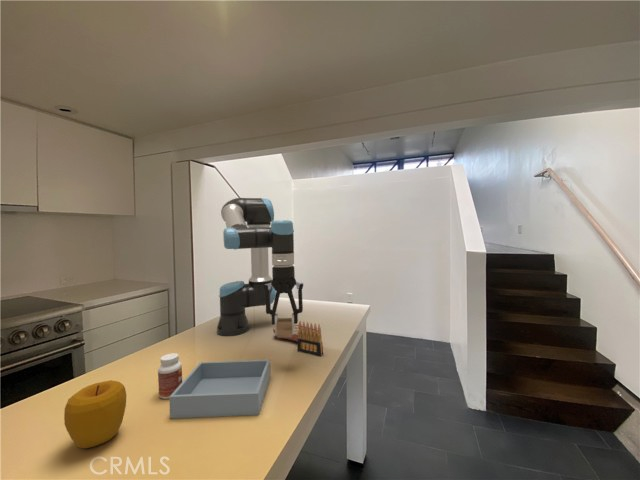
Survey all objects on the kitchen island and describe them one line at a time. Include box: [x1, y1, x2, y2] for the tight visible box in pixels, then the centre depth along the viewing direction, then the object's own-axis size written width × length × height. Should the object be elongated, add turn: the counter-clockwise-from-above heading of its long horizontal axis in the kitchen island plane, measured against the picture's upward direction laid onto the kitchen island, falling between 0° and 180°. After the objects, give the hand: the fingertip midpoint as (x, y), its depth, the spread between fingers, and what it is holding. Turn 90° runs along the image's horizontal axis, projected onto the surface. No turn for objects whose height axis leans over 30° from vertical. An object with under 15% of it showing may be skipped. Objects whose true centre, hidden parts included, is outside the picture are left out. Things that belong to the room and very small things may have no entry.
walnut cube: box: [276, 317, 293, 339], centre depth 92 cm, size 5×5×5 cm
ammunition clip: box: [297, 320, 324, 357], centre depth 105 cm, size 11×2×12 cm, turn 60°
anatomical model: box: [272, 324, 318, 343], centre depth 118 cm, size 23×10×5 cm, turn 57°
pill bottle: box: [157, 352, 183, 400], centre depth 80 cm, size 6×6×11 cm
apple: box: [63, 379, 127, 449], centre depth 62 cm, size 11×11×13 cm
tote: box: [168, 359, 271, 419], centre depth 78 cm, size 19×23×6 cm
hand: (285, 333), depth 93 cm, fingers closed on walnut cube, 5 cm apart
